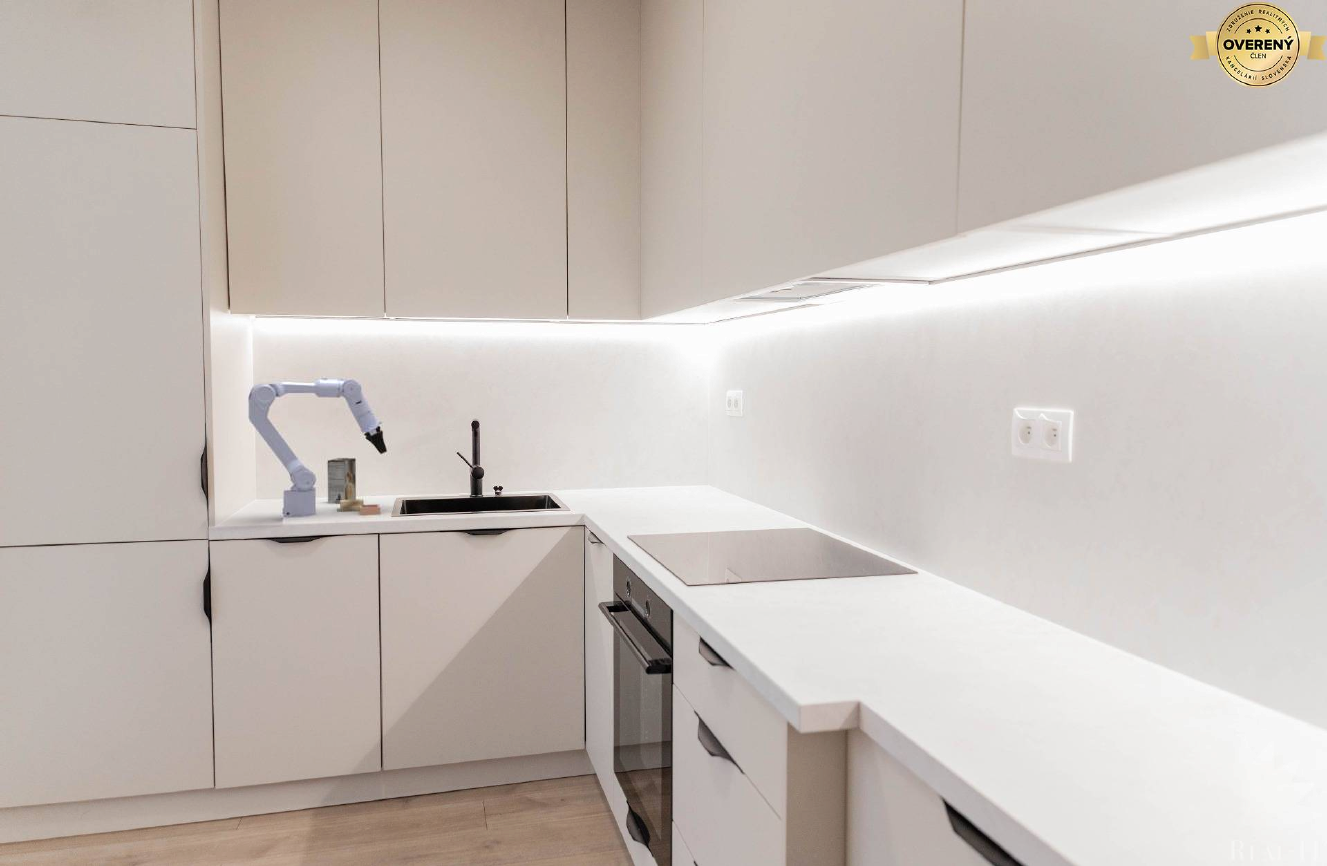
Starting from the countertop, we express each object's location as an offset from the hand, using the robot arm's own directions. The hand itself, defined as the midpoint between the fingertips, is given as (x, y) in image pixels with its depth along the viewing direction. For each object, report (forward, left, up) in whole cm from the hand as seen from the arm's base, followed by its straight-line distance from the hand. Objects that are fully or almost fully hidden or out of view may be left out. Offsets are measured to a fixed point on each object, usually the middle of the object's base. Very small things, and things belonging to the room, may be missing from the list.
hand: (382, 450), depth 268 cm
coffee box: (-12, +20, -21) cm, 32 cm away
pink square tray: (-5, -7, -21) cm, 22 cm away
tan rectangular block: (-10, +1, -19) cm, 22 cm away
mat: (-10, +1, -21) cm, 23 cm away
